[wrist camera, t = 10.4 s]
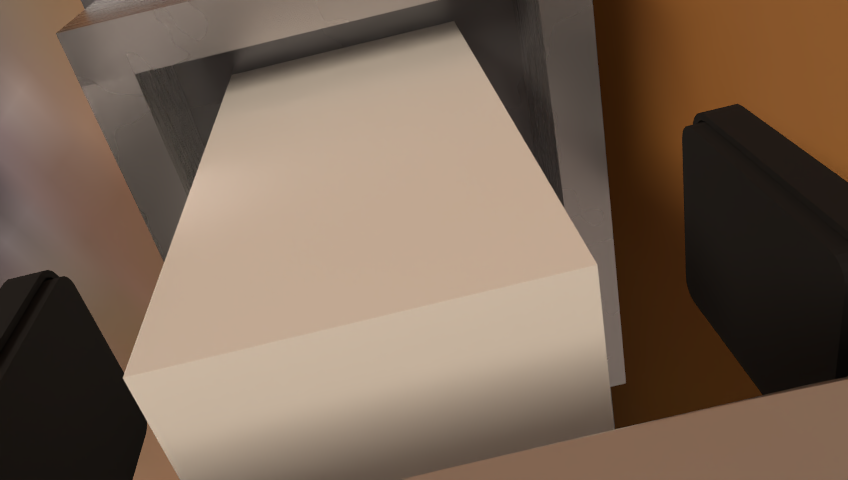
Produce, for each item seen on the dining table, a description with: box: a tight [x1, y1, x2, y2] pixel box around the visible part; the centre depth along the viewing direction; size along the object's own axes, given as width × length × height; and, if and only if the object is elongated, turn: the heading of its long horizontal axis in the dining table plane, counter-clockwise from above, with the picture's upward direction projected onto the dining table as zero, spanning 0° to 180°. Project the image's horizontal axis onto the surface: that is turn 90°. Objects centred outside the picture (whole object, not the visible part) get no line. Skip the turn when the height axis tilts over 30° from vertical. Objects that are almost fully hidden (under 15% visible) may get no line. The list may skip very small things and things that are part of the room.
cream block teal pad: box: [123, 21, 614, 480], centre depth 11 cm, size 4×6×8 cm
